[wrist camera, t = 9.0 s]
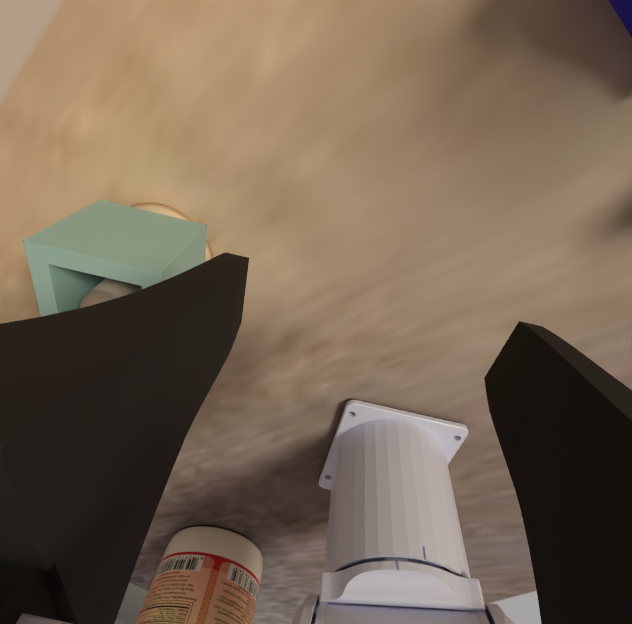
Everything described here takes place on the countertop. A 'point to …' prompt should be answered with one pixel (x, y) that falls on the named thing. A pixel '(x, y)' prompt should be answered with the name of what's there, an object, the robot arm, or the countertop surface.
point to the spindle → (119, 288)
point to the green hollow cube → (109, 252)
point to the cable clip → (624, 12)
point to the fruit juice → (205, 579)
